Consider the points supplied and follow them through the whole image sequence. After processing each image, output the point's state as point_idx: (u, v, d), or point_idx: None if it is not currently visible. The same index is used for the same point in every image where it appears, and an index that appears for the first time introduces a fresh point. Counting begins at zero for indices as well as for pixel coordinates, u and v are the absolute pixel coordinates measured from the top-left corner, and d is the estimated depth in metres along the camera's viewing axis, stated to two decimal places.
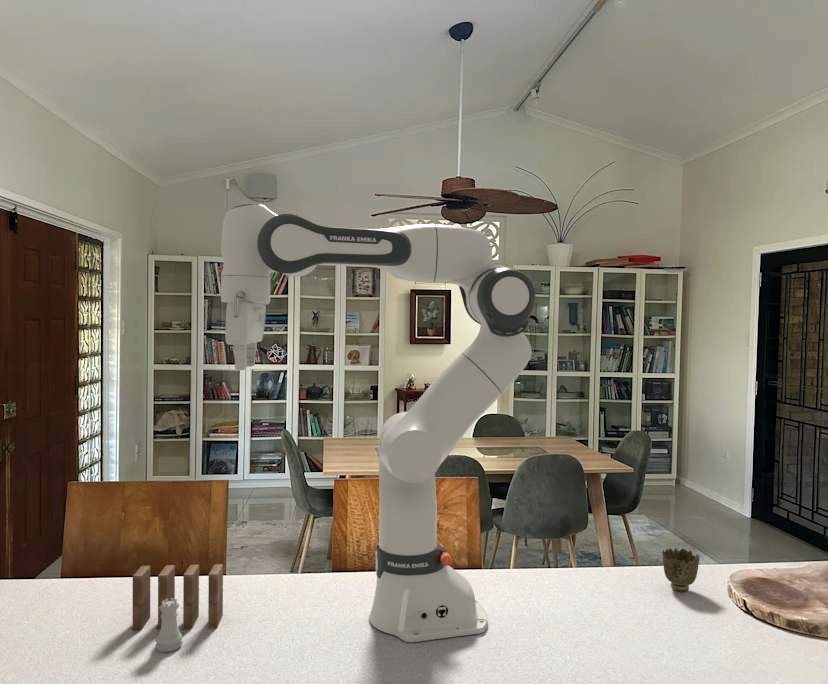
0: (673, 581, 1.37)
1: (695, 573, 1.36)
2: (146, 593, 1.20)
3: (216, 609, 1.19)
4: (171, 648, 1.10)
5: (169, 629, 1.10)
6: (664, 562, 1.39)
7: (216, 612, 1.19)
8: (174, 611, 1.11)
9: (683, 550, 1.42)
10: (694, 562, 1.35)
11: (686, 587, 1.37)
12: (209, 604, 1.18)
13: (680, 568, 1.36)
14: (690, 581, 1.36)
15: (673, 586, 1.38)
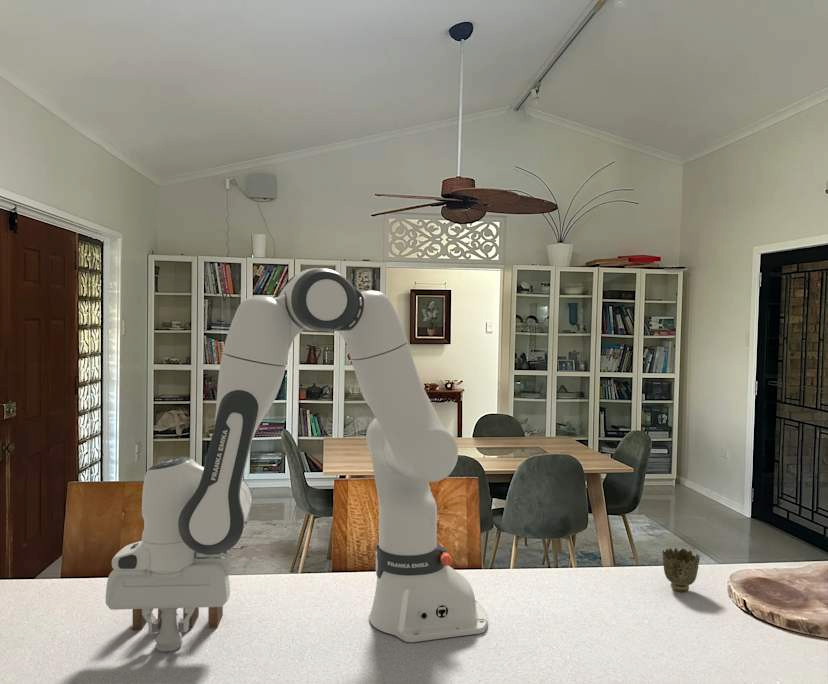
0: (673, 581, 1.37)
1: (695, 573, 1.36)
2: None
3: (216, 609, 1.19)
4: (171, 648, 1.10)
5: (169, 629, 1.10)
6: (664, 562, 1.39)
7: (216, 612, 1.19)
8: (174, 611, 1.11)
9: (683, 550, 1.42)
10: (694, 562, 1.35)
11: (686, 587, 1.37)
12: None
13: (680, 568, 1.36)
14: (690, 581, 1.36)
15: (673, 586, 1.38)
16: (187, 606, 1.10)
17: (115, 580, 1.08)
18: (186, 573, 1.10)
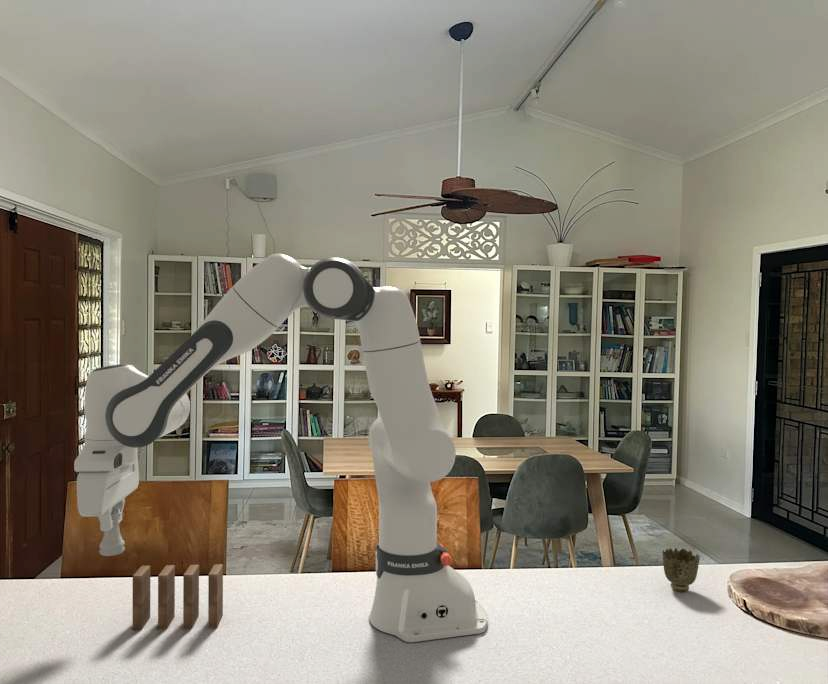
0: (673, 581, 1.37)
1: (695, 573, 1.36)
2: (146, 593, 1.20)
3: (216, 609, 1.19)
4: (124, 547, 1.20)
5: (119, 532, 1.19)
6: (664, 562, 1.39)
7: (216, 612, 1.19)
8: None
9: (683, 550, 1.42)
10: (694, 562, 1.35)
11: (686, 587, 1.37)
12: (209, 604, 1.18)
13: (680, 568, 1.36)
14: (690, 581, 1.36)
15: (673, 586, 1.38)
16: (127, 494, 1.22)
17: (106, 484, 1.11)
18: None
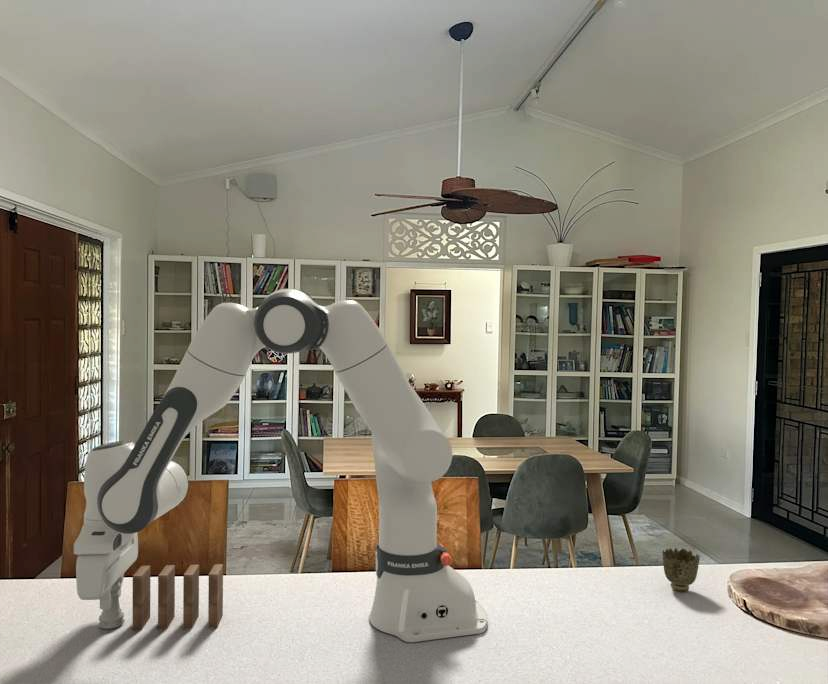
0: (673, 581, 1.37)
1: (695, 573, 1.36)
2: (146, 593, 1.20)
3: (216, 609, 1.19)
4: (123, 619, 1.20)
5: (119, 604, 1.20)
6: (664, 562, 1.39)
7: (216, 612, 1.19)
8: None
9: (683, 550, 1.42)
10: (694, 562, 1.35)
11: (686, 587, 1.37)
12: (209, 604, 1.18)
13: (680, 568, 1.36)
14: (690, 581, 1.36)
15: (673, 586, 1.38)
16: None
17: (106, 566, 1.11)
18: None
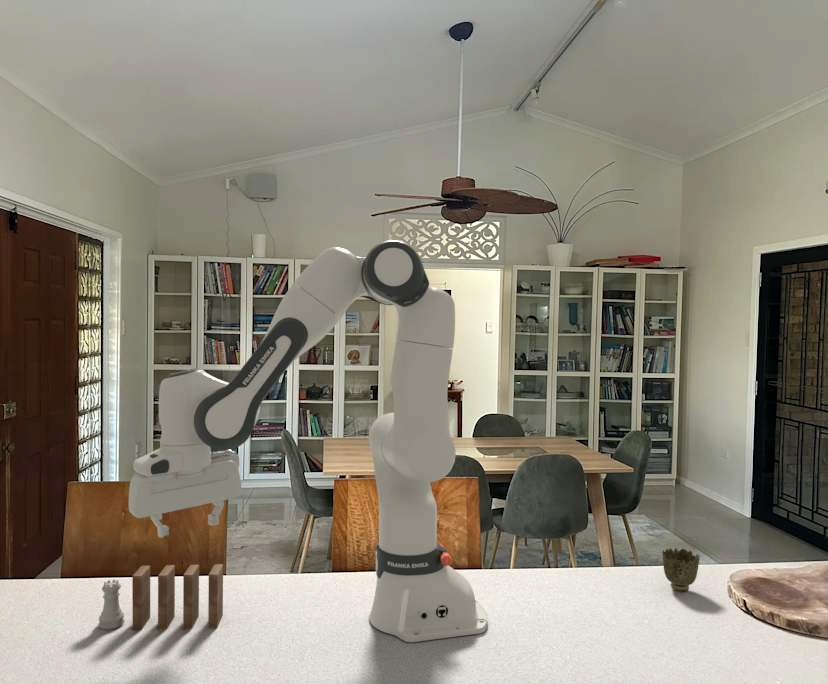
0: (673, 581, 1.37)
1: (695, 573, 1.36)
2: (146, 593, 1.20)
3: (216, 609, 1.19)
4: (123, 619, 1.20)
5: None
6: (664, 562, 1.39)
7: (216, 612, 1.19)
8: None
9: (683, 550, 1.42)
10: (694, 562, 1.35)
11: (686, 587, 1.37)
12: (209, 604, 1.18)
13: (680, 568, 1.36)
14: (690, 581, 1.36)
15: (673, 586, 1.38)
16: (209, 501, 1.21)
17: (145, 488, 1.12)
18: (208, 471, 1.20)
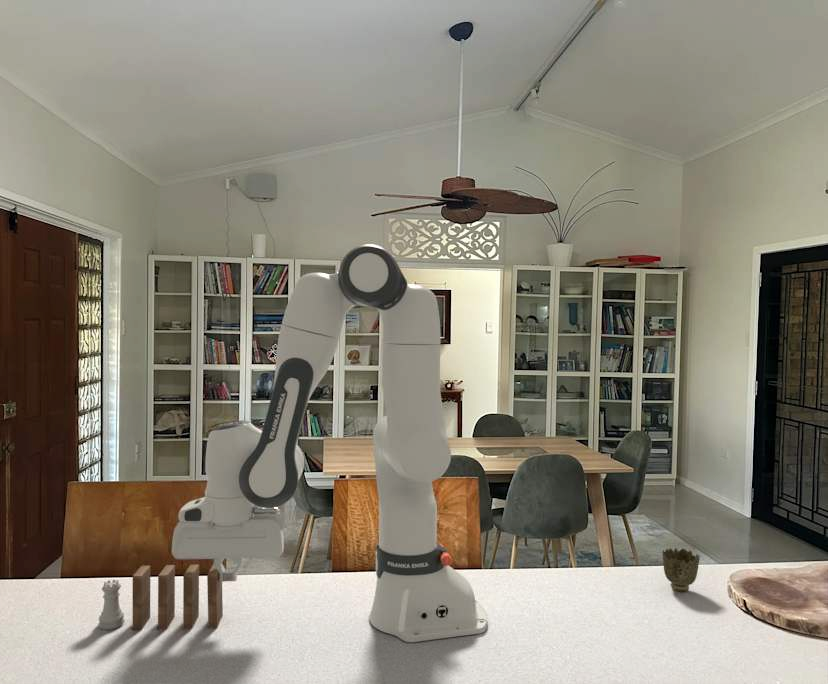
0: (673, 581, 1.37)
1: (695, 573, 1.36)
2: (146, 593, 1.20)
3: (216, 609, 1.19)
4: (123, 619, 1.20)
5: None
6: (664, 562, 1.39)
7: (216, 612, 1.19)
8: None
9: (683, 550, 1.42)
10: (694, 562, 1.35)
11: (686, 587, 1.37)
12: (208, 604, 1.18)
13: (680, 568, 1.36)
14: (690, 581, 1.36)
15: (673, 586, 1.38)
16: (246, 557, 1.20)
17: (181, 532, 1.18)
18: (245, 526, 1.19)
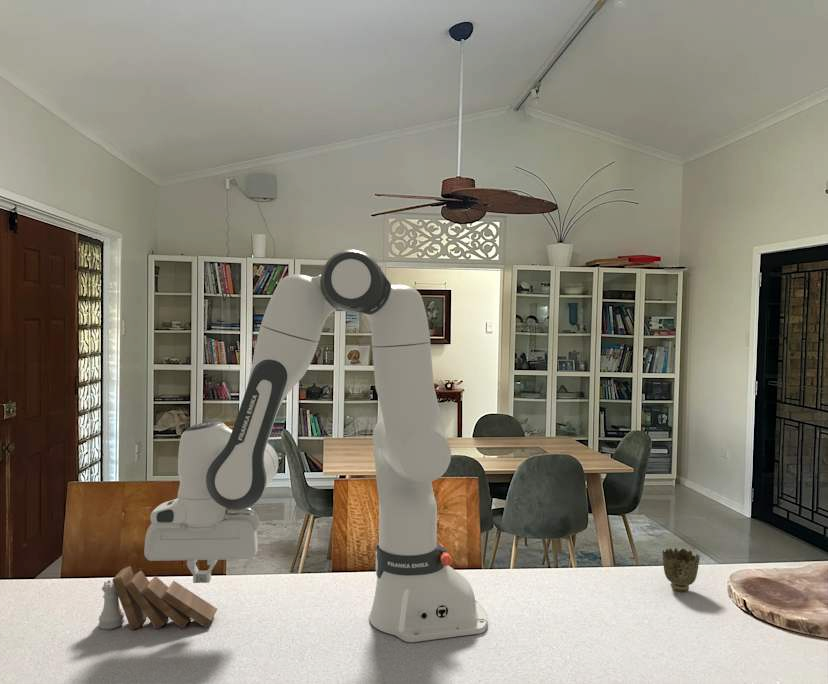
0: (673, 581, 1.37)
1: (695, 573, 1.36)
2: None
3: (195, 611, 1.18)
4: (123, 618, 1.20)
5: None
6: (664, 562, 1.39)
7: (198, 613, 1.18)
8: None
9: (683, 550, 1.42)
10: (694, 562, 1.35)
11: (686, 587, 1.37)
12: (187, 614, 1.18)
13: (680, 568, 1.36)
14: (690, 581, 1.36)
15: (673, 586, 1.38)
16: (219, 558, 1.19)
17: (153, 533, 1.17)
18: (218, 527, 1.19)
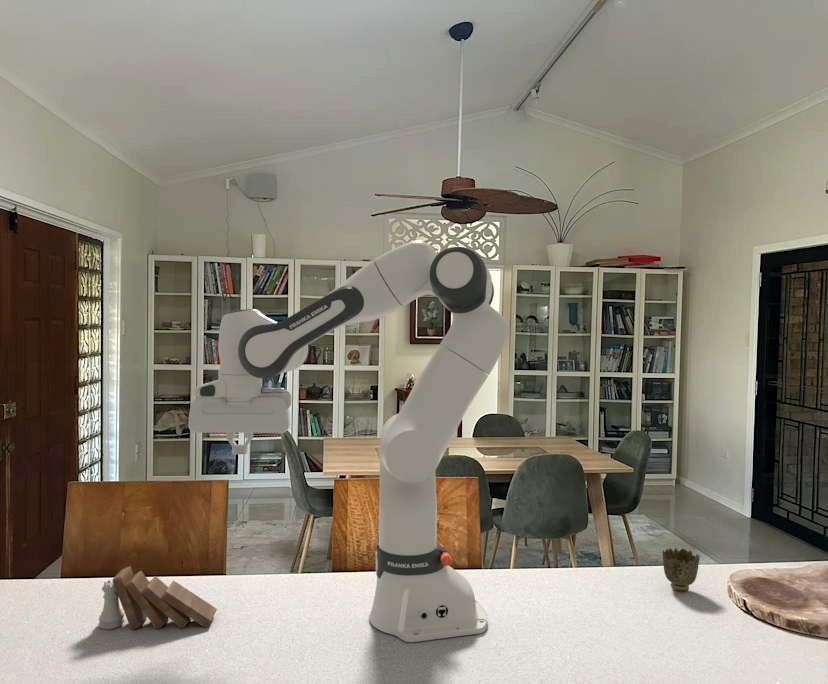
0: (673, 581, 1.37)
1: (695, 573, 1.36)
2: None
3: (195, 611, 1.18)
4: (123, 619, 1.20)
5: None
6: (664, 562, 1.39)
7: (197, 613, 1.18)
8: None
9: (683, 550, 1.42)
10: (694, 562, 1.35)
11: (686, 587, 1.37)
12: (186, 614, 1.18)
13: (680, 568, 1.36)
14: (690, 581, 1.36)
15: (673, 586, 1.38)
16: (255, 431, 1.32)
17: (196, 407, 1.30)
18: (255, 403, 1.32)
